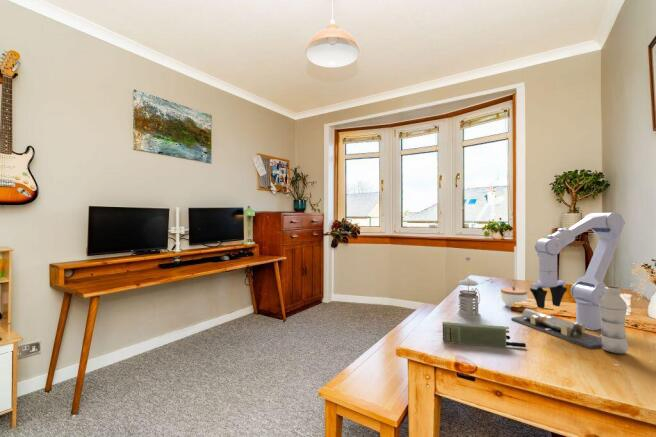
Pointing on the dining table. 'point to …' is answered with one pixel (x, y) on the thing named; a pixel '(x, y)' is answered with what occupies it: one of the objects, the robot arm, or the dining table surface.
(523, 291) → the lidded jar
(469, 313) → the french press
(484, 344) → the handheld radio
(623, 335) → the plastic bottle
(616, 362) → the dining table surface
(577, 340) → the plate
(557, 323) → the tube
